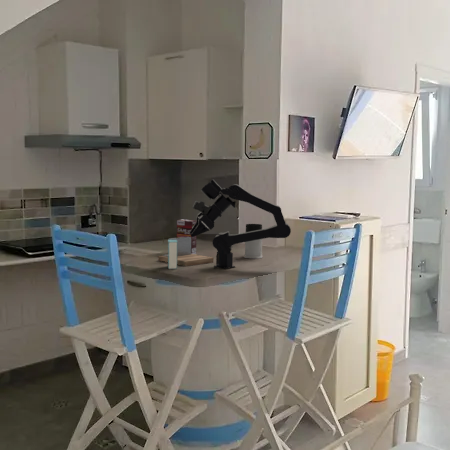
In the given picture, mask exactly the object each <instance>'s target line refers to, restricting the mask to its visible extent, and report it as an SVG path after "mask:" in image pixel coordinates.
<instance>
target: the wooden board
mask: <svg viewBox="0 0 450 450" xmlns="http://www.w3.org/2000/svg"><path fill="white" fill-rule="evenodd" d="M158 260H159V262H162V261H165V262H164V263H167V262H168V257H166V256H163V255H158V256H157V261H158ZM210 263H211V264H212V263H214V257H211V256H205V255H200V254H197V253H196V254H191V255H185V256H177V264H178V265H177V266H183V267H190V266H196V265H203V264H210Z"/></svg>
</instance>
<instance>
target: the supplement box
mask: <svg viewBox="0 0 450 450" xmlns="http://www.w3.org/2000/svg"><path fill="white" fill-rule="evenodd" d="M196 221H197V220H191V219H177V220H176V238H180V237H191V254H196V255H197V236H198V235H197V236H194V237H192V236H191V234H190V231H191V229H192V228H193V226H194V225H195V223H196Z"/></svg>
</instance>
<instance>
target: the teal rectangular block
mask: <svg viewBox="0 0 450 450" xmlns="http://www.w3.org/2000/svg"><path fill="white" fill-rule="evenodd" d="M167 254H168V263H167V269H168V270H178V265H177V240H168V239H167Z"/></svg>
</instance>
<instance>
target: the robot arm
mask: <svg viewBox="0 0 450 450" xmlns="http://www.w3.org/2000/svg"><path fill="white" fill-rule="evenodd" d="M200 192H202V193H203V194H204V196H206V197H207V199H209V200H213V201H214V202H213V203H212V204H209V205H206V204H205V202H204V201H201V200H200V201H197V200H195V201H194V203H193V206H192V209H194V210H195V211H196V210H197V211H199V213H197V215H196V220H195V221H196V223H195V225H194V226H193V228H192V229H191V231H190V234H191V236H192V237H194V236H199V235H201V234H204V233H207V232H209V231H211V230H212V229H214V227H215V222H216V221H217V220H218V219H219V218H221V217H222V215H223V214H224V213H225V212H226V211H227V210H228V209H229V208H230V207H232V208H233V209H236V203H237V201H241V202H245V203H248V204H251V205H252V206H255V207H257V208H258V209H261V210H263V211H264V212H265V211H266V212H268V213H269V214H272V215H273V218H274V222H275V224H274V225H272V226H270V227H267V228H262V229H261V230H256V231H250V232H246V231H245V232H241V233H232V234H231V233H230V231H229V230H227V231H225V232H219V233H218V234H216V235H215V237H214V238H213V240H212V246H213V247H214V249H216V250H217V251H216V256H215V257H216V258H215V265H213V267H214V268H219V269H225V270H226V269H232V268H236V265H233V263H234V260H233V259H234V257H233V256H234V254H233V252H232V250H233V249H232V248H233V246H234V245H236V244H237V245H238V244H241V243H245V242H248V241H254V240H259V239H262V240H265V239H268V238H269V239H270V238H272V239H286V238H289V237H290V235H291V232H292V230H291V229H292V228H291V226H290V225H289V223H287V222H286V219H285V218H284V215H283V211H282V208H281V206H280V205H277V204H273V203H272V202H270V201H267V200H265V199H263V198H262V197H259V196H256V195H255V194H252V193H251V192H249V191H248V190H246V189H245V188H243V186H241V185H240V184H237V183H236V184H235V183H234V184H232V185H230V186H229V187H223V188H222V187H221V186H220V185H219V184H218V183H217V182H216V180H215V179H211V180H210V181H209V182H208V183H207V184H205V185H204V186H203V187H202V188H201V189H200ZM224 195H225V196H227V197H225V196H224ZM232 199H233V200H234V201H233V200H232ZM235 200H236V201H235Z"/></svg>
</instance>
